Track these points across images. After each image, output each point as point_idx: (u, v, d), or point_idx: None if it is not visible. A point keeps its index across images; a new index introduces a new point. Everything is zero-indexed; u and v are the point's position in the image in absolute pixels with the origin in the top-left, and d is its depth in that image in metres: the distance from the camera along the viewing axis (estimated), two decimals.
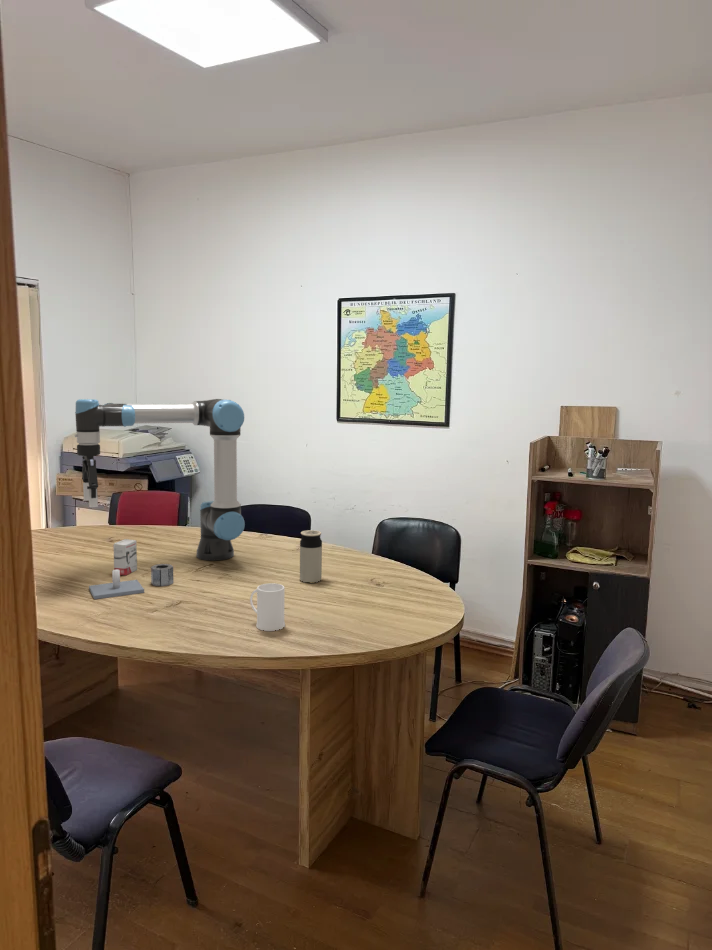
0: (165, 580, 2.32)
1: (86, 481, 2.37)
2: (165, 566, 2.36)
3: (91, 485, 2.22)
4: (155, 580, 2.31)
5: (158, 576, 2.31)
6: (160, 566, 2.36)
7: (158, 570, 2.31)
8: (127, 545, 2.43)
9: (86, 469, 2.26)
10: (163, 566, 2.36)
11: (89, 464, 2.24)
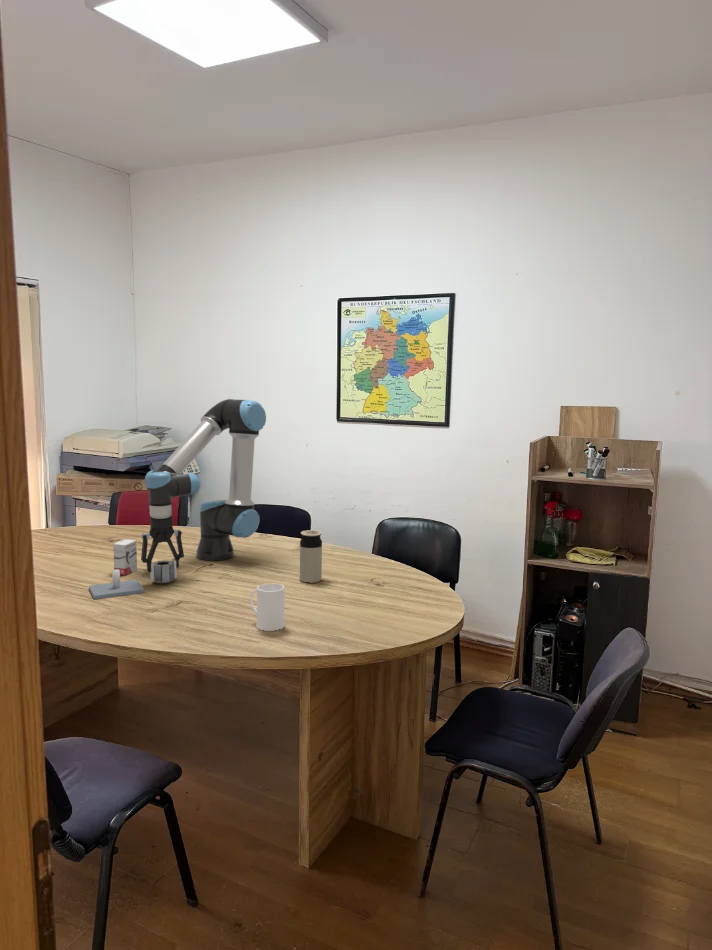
0: (166, 577, 2.32)
1: (174, 558, 2.36)
2: (166, 562, 2.36)
3: (141, 559, 2.31)
4: (156, 577, 2.32)
5: (159, 573, 2.31)
6: (161, 563, 2.36)
7: (159, 567, 2.31)
8: (127, 545, 2.43)
9: (152, 541, 2.33)
10: (164, 563, 2.36)
11: (142, 538, 2.30)
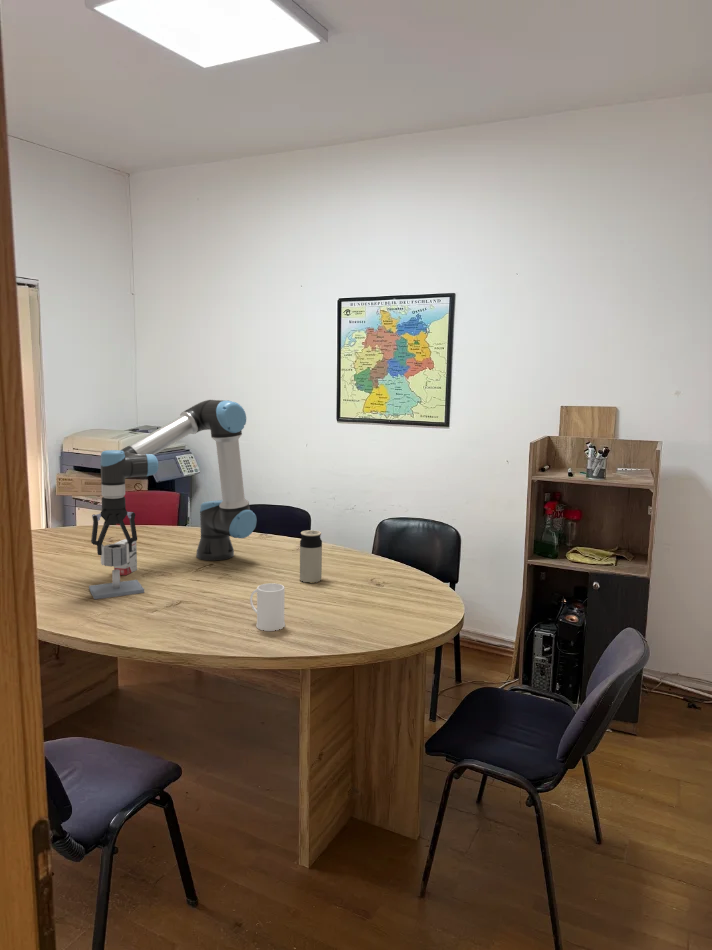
0: (117, 560, 2.21)
1: (127, 541, 2.25)
2: (118, 546, 2.25)
3: (91, 541, 2.20)
4: (107, 560, 2.20)
5: (110, 556, 2.20)
6: (113, 546, 2.25)
7: (110, 549, 2.19)
8: None
9: None
10: (116, 546, 2.25)
11: (93, 519, 2.19)
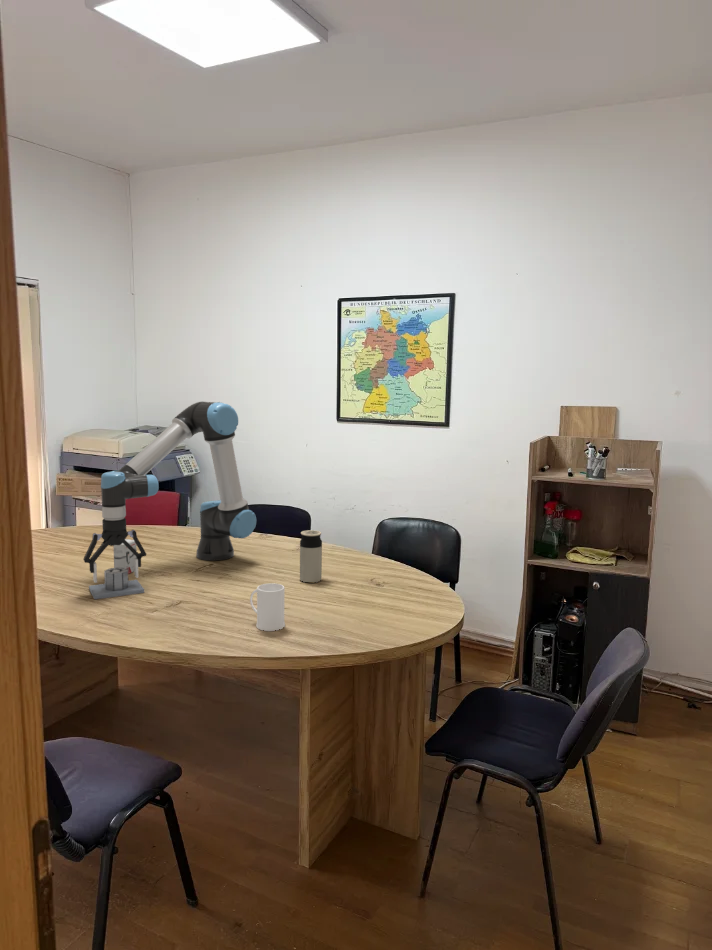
0: (119, 584, 2.22)
1: (136, 556, 2.27)
2: (120, 570, 2.26)
3: None
4: (108, 584, 2.22)
5: (111, 580, 2.21)
6: None
7: (111, 574, 2.21)
8: None
9: (102, 542, 2.22)
10: None
11: (92, 538, 2.20)
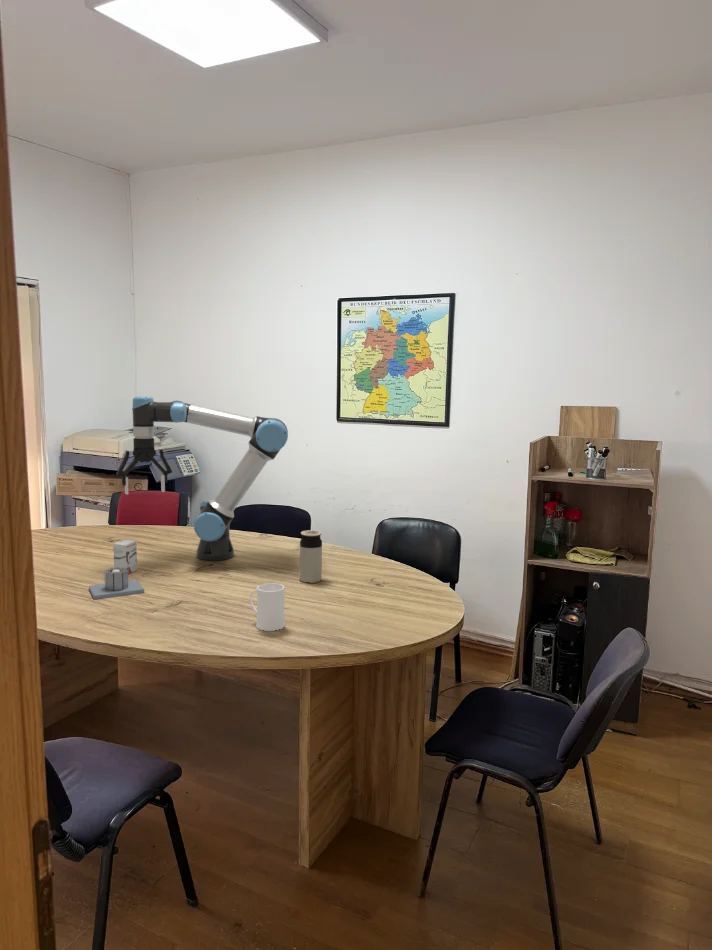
0: (119, 584, 2.22)
1: (163, 473, 2.55)
2: (120, 570, 2.26)
3: None
4: (108, 584, 2.22)
5: (111, 580, 2.21)
6: None
7: (111, 574, 2.21)
8: (127, 545, 2.43)
9: (133, 459, 2.50)
10: None
11: None
